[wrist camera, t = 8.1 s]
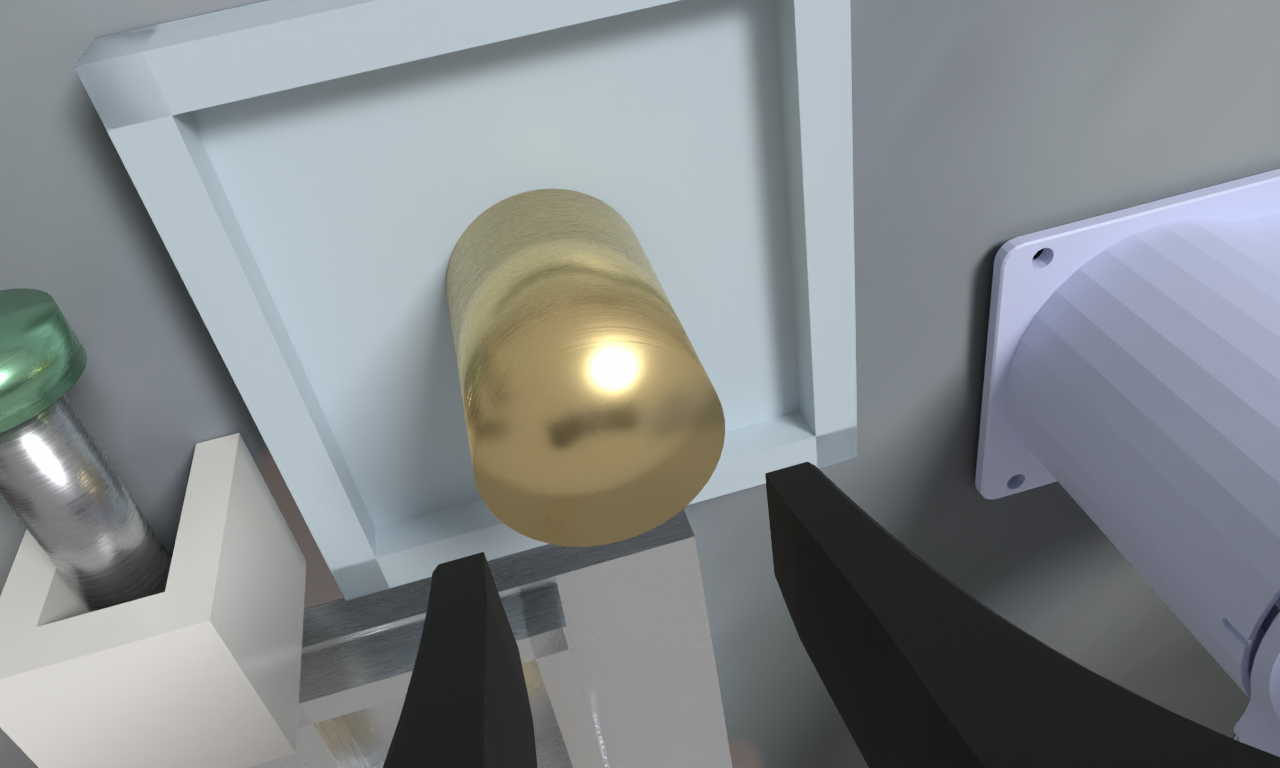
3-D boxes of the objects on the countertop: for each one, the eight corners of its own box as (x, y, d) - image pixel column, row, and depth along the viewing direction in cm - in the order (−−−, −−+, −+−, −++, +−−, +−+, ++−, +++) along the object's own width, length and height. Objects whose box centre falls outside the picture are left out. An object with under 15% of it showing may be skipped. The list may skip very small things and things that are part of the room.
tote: (813, -118, 17) (848, -104, 16) (833, 419, 24) (857, 457, 23) (95, 38, 16) (74, 67, 14) (346, 553, 23) (345, 600, 22)
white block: (239, 433, 20) (210, 620, 16) (306, 561, 23) (295, 752, 19) (44, 483, 20) (-36, 689, 16) (134, 608, 22) (84, 815, 18)
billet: (627, 166, 18) (711, 314, 14) (656, 337, 21) (735, 508, 17) (421, 217, 18) (441, 384, 14) (474, 384, 21) (506, 573, 16)
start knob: (73, 273, 16) (29, 365, 14) (240, 558, 20) (226, 665, 18) (-102, 315, 16) (-177, 416, 14) (104, 595, 20) (73, 708, 18)
